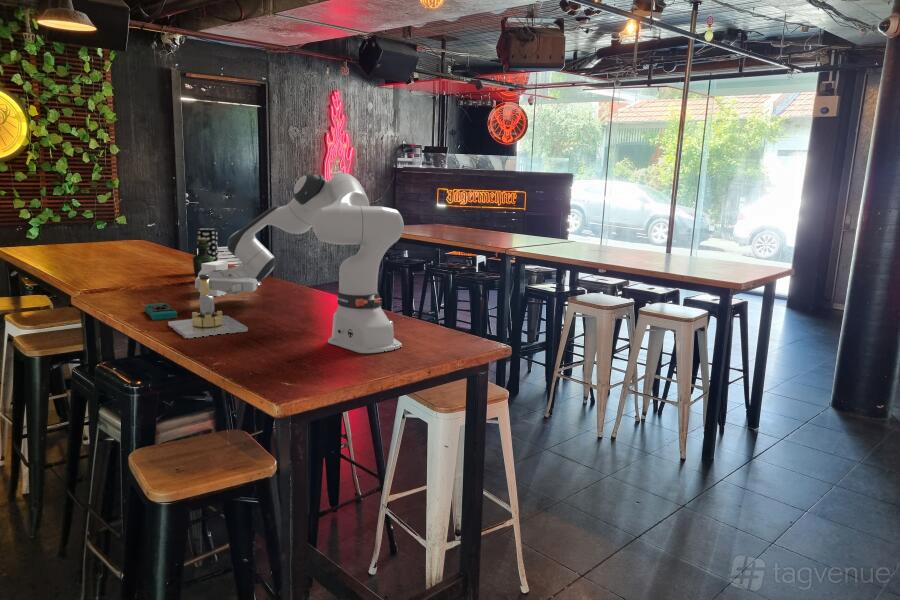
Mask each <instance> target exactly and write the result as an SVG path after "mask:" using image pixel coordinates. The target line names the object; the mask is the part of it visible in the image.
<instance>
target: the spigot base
mask: <svg viewBox="0 0 900 600" xmlns="http://www.w3.org/2000/svg"><path fill="white" fill-rule="evenodd" d="M214 312H215V297H214V295H199V312H197V314H198V313H200V317H202V318H205V314H211V315H212V317H214ZM222 316H223V324H221V325H218V326H213V327H198V326H194V325H193V323H192V318H190V319H189V318H187V319H180V320H170V321H167V323H168V325H167V326H169V327H170V328H171V329H172V328H173V329H172V330H174V332H176V333H178V334H179V335H180V336H181V335H182V338H184V339H185V340H186V338H188V339H195V338H194V337H196V338H203V337H202V336H204V337H210V336H209V335H213V336H218V335H217V334H221V335H227V334H226V333H229V334H236V333H237V332H238V333H244V332H245V333H247V332H249V329H248V326H246V325H245V324H243V323H241V322H240V321H238V320H236V319H235V318H232V317H231V316H229V315H222Z"/></svg>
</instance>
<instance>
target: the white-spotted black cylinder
mask: <svg viewBox="0 0 900 600" xmlns="http://www.w3.org/2000/svg"><path fill="white" fill-rule="evenodd" d="M196 233H197V234H196V235H197V237H196V238H197V239H198V238H206V239H207V242H206V244H209V246H210V247H209V248H207V253H206V254H208V255H210V256H212V258H213V262H214V261H219V249H218V248H219V245H218V244H219V242H218V229H217V228H215V227H214V228H213V227H212V228H211V227H210V228H209V227H202V228H197V229H196ZM197 244H199V243H198V242H197ZM198 254H199V251H198V250H197V255H198Z"/></svg>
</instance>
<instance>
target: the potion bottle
mask: <svg viewBox="0 0 900 600" xmlns="http://www.w3.org/2000/svg"><path fill="white" fill-rule="evenodd" d="M206 242H207V239H206V238H197V243H195V244H194V247H195V248H196V249H197V252H198V251H199V254H198V253H197V254H196V255H194V256H193V257H192V264H193V272H194V280H195V279H196V278H197V277H198V273H199V272H200V271H201V270H202V267H201V264H203V263H208V262H213V258H212V256H210V255H208V254H206V253H207V248H209V247H210V246H209V244H206ZM198 243H199V244H198Z"/></svg>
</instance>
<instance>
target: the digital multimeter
mask: <svg viewBox="0 0 900 600" xmlns="http://www.w3.org/2000/svg"><path fill="white" fill-rule="evenodd" d="M144 312H145V314H147V315H148V316H149V315H150V316H149V317H150V318H151V320H152V321H163V319H165V320H172V319H171V318H175V319H177V318H178V311H176V310H175V309H173V308H172V307H171V306H170V305H169V304H168V303H161V302H160V303H159V302H158V303H157V302H156V303H150V304H146V305H145V306H144Z"/></svg>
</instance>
